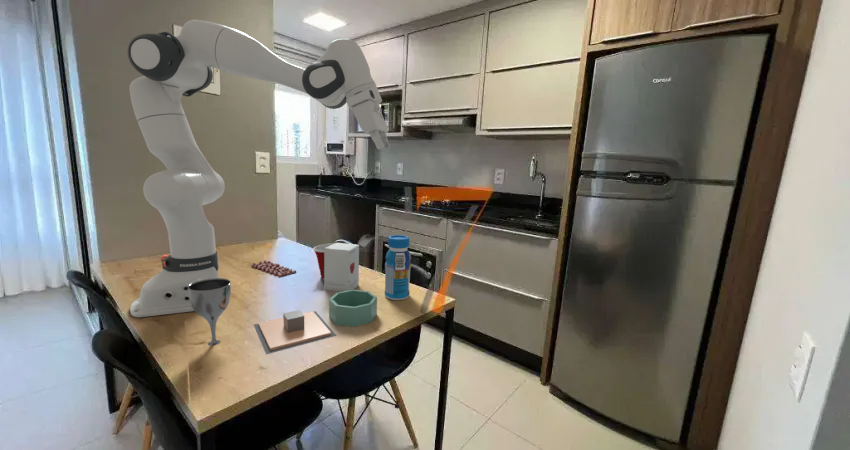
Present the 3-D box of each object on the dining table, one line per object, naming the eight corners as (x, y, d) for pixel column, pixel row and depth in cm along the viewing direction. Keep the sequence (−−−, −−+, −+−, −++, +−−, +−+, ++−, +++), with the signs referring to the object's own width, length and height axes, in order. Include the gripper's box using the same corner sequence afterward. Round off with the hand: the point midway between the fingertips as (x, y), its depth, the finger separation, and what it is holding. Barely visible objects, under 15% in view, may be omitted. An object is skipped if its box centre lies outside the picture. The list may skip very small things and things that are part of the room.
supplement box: (348, 294, 112) (349, 250, 109) (323, 291, 113) (323, 248, 111) (359, 285, 121) (359, 244, 118) (335, 282, 122) (335, 241, 120)
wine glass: (205, 337, 82) (201, 277, 79) (240, 337, 83) (236, 278, 80) (185, 355, 74) (179, 290, 72) (223, 355, 75) (219, 290, 72)
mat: (266, 357, 75) (266, 354, 75) (253, 327, 88) (253, 324, 88) (336, 338, 84) (336, 335, 84) (315, 313, 97) (315, 311, 97)
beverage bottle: (379, 297, 111) (380, 237, 107) (392, 289, 118) (394, 233, 114) (401, 303, 107) (404, 241, 103) (414, 294, 115) (416, 236, 111)
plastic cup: (311, 274, 130) (311, 243, 128) (340, 271, 134) (340, 241, 132) (315, 283, 120) (315, 250, 118) (346, 280, 125) (346, 248, 123)
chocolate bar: (280, 279, 125) (280, 274, 124) (251, 268, 135) (251, 263, 134) (297, 274, 131) (297, 269, 130) (268, 264, 141) (268, 259, 140)
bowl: (341, 332, 87) (341, 311, 86) (324, 314, 97) (324, 294, 95) (382, 322, 94) (383, 301, 93) (363, 306, 103) (363, 287, 102)
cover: (270, 350, 76) (269, 333, 75) (258, 325, 87) (257, 310, 87) (331, 334, 84) (330, 319, 84) (313, 313, 95) (312, 299, 95)
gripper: (363, 109, 104) (380, 152, 107) (343, 99, 84) (365, 153, 87) (382, 101, 103) (399, 145, 106) (367, 89, 83) (388, 143, 86)
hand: (384, 148), depth 96 cm, fingers open, 8 cm apart
